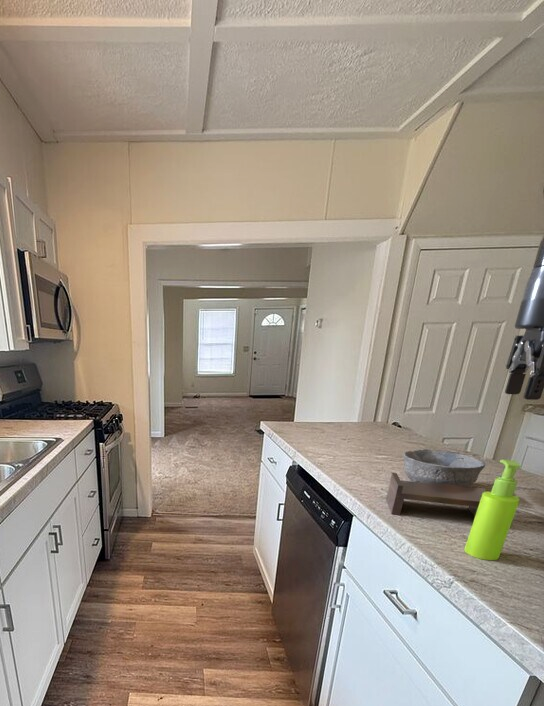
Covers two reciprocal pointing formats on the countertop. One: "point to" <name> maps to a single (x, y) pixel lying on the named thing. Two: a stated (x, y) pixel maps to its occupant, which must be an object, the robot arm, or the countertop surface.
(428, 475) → the bowl
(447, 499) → the shelf
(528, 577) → the countertop surface
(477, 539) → the soap dispenser
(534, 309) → the robot arm
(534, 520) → the countertop surface
